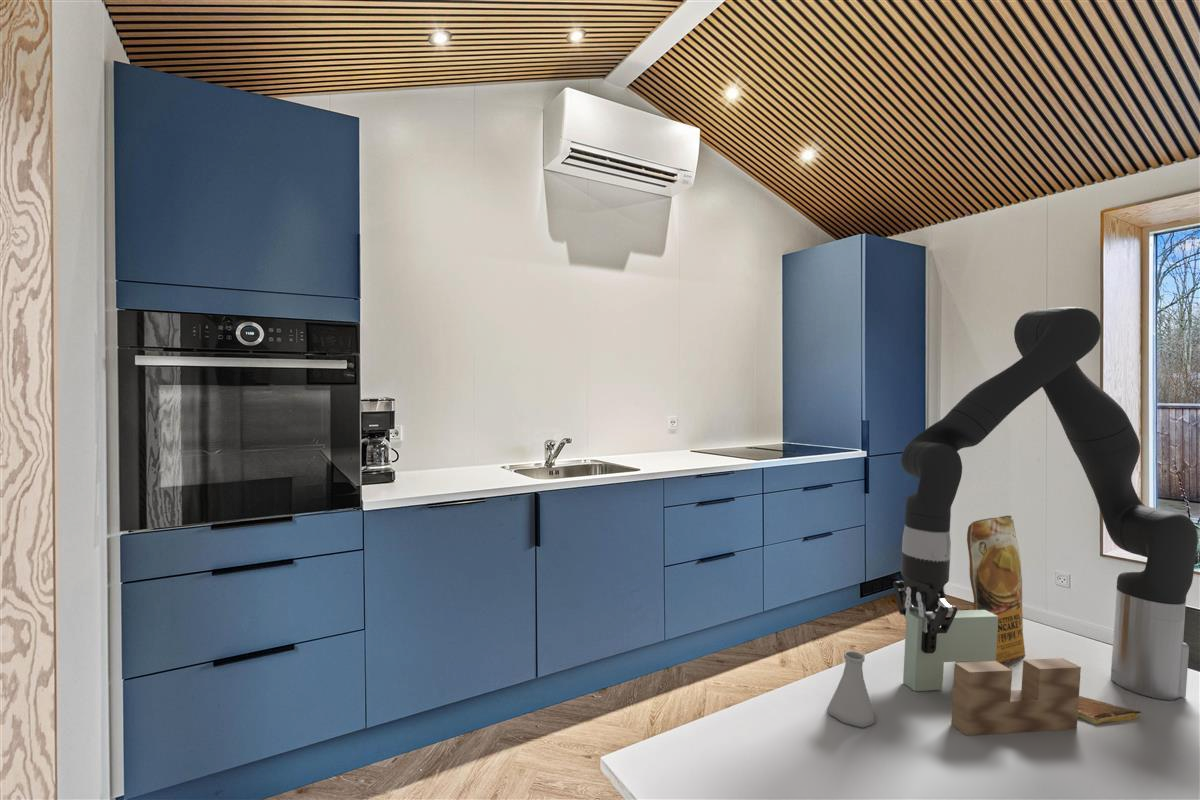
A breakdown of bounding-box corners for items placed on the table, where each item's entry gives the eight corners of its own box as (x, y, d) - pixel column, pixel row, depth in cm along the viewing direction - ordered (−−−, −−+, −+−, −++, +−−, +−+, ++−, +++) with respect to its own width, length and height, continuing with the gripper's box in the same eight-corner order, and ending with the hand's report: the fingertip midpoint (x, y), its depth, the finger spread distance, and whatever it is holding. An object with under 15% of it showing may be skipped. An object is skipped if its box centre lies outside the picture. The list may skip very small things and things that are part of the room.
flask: (881, 715, 94) (885, 655, 93) (866, 734, 88) (870, 670, 88) (837, 697, 99) (840, 640, 98) (820, 714, 93) (823, 654, 93)
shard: (1141, 720, 96) (1141, 710, 96) (1151, 743, 89) (1152, 732, 89) (1058, 698, 102) (1058, 688, 102) (1062, 718, 96) (1063, 707, 95)
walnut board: (1059, 717, 95) (1063, 658, 95) (1076, 728, 92) (1080, 667, 92) (951, 724, 92) (954, 662, 92) (965, 735, 89) (969, 672, 89)
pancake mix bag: (946, 655, 116) (954, 518, 115) (1003, 640, 124) (1011, 512, 123) (981, 671, 110) (989, 526, 109) (1038, 654, 118) (1046, 519, 117)
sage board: (980, 678, 107) (984, 609, 106) (994, 687, 104) (998, 616, 103) (903, 682, 104) (906, 612, 104) (914, 691, 101) (918, 618, 101)
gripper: (975, 564, 96) (969, 666, 97) (917, 541, 110) (912, 630, 110) (935, 565, 95) (929, 668, 95) (881, 541, 109) (877, 631, 109)
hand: (920, 647), depth 103 cm, fingers closed on sage board, 3 cm apart
